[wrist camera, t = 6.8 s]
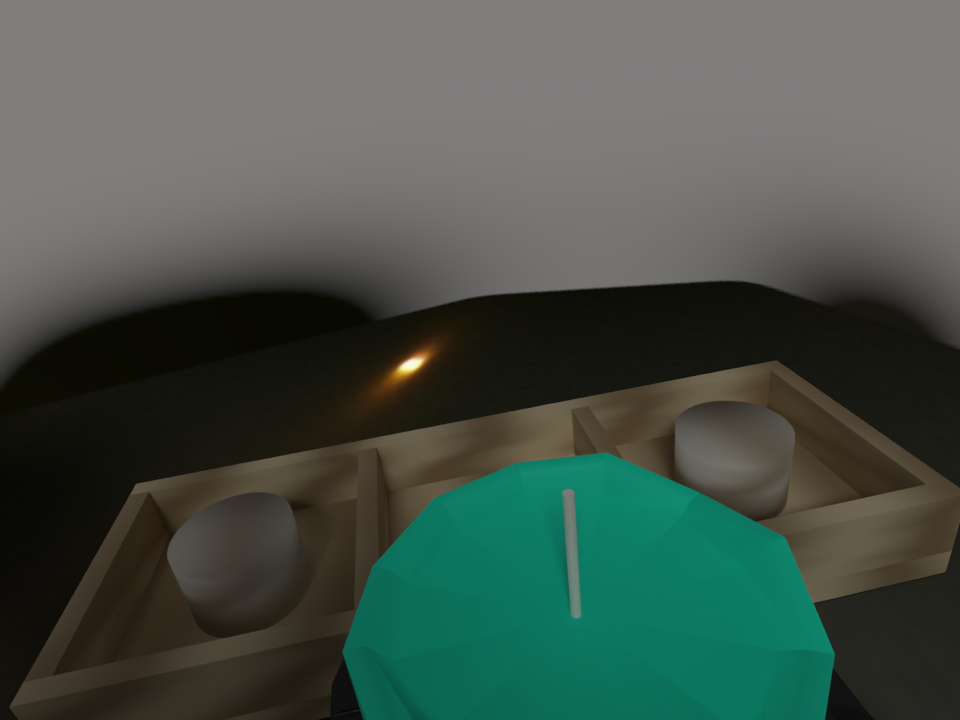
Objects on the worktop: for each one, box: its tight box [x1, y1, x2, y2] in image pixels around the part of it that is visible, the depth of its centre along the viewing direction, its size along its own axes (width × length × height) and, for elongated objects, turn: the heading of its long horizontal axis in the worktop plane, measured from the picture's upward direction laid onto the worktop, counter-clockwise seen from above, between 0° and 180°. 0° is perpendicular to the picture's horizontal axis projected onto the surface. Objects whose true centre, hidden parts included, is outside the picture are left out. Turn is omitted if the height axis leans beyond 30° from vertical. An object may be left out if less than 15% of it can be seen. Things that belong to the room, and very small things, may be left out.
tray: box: [9, 361, 960, 720], centre depth 24 cm, size 30×11×4 cm, turn 100°
